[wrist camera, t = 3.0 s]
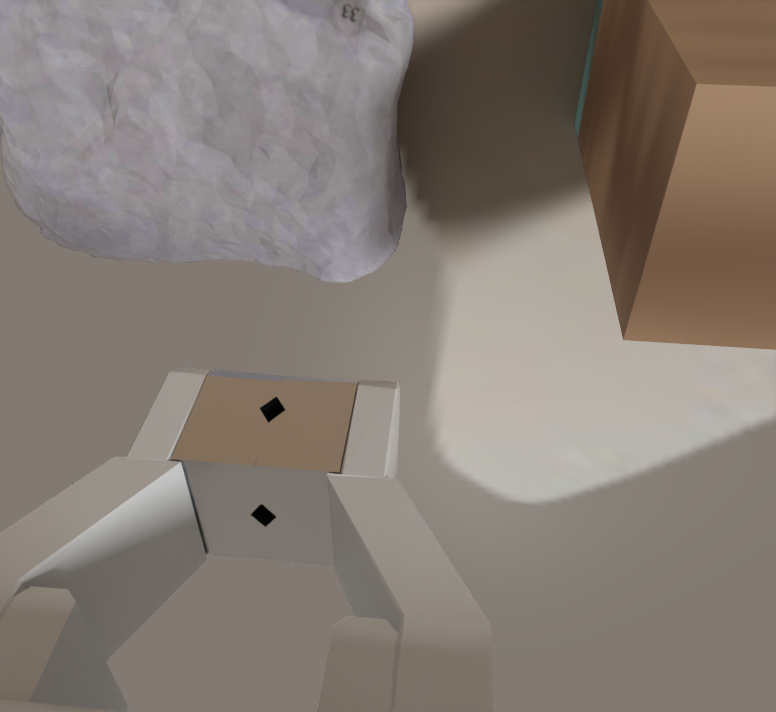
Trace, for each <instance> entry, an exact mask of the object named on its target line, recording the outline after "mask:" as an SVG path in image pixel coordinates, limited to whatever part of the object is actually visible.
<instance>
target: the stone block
mask: <svg viewBox="0 0 776 712" xmlns="http://www.w3.org/2000/svg"><path fill="white" fill-rule="evenodd" d="M413 40H414V19H413V17H412V14H411V12H410V10H409V7H408V1H407V0H0V128H1V155H2V162H3V171H4V174H5V180H6V184H7V187H8V189H9V191H10V193H11V195H12V197H13V199H14V201H15V204H16V206H17V207H18V209H19V210H20V211H21V212H22V213H23V214H24V215H25V217H27V218H28V219H30V220H31V221H32V222H34V223H35V224H36V225H38V226H39V227H40V228H41V233H42V234H43V236H44V237H45V238H47V239H50V240H53V241H54V242H56V243H57V244H58V245H59V246H62V247H66V248H70V249H72V250H77V251H82V252H85V253H88V254H90V255H91V256H93V257H101V258H111V259H119V260H141V261H147V262H200V261H212V260H233V261H251V262H256V263H259V264H263V265H267V266H272V267H290V268H292V269H294V270H297V271H299V272H302V273H304V274H307V275H309V276H311V277H314V278H316V279H318V280H321V281H326V282H351V281H353V280H355V279H357V278H359V277H362V276H365V275H368V274H370V273H372V272H375V271H376V270H377V269H378V268H379V267H381V266H382V265H383V263H385V262H386V261H387V259H388V258H389V257H390V256H391V255H392V254H393V253H394V252H395V251H396V248H397V246H398V244H399V239H400V235H401V231H402V225H403V219H404V214H405V211H406V207H407V205H406V192H405V183H404V180H403V176H402V166H401V162H400V158H399V155H398V137H397V104H398V99H399V97H400V94H401V90H402V85H403V80H404V78H405V75H406V70H407V68H408V65H409V61H410V56H411V52H412V47H413Z"/></svg>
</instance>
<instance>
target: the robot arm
mask: <svg viewBox="0 0 776 712" xmlns="http://www.w3.org/2000/svg"><path fill="white" fill-rule="evenodd" d="M399 397H400V389H399V384H398V383H397V382H386V381H368V380H361V381H359V380H343V379H327V378H311V377H310V378H309V377H294V376H279V375H267V374H257V373H246V372H235V371H225V370H205V369H195V368H185V367H175V368H174V369H173V370H172V371H171V372H169V373H168V374H167V376H166V378H165V380H164V382H163V384H162V386H161V388H160V390H159V392H158V394H157V396H156V398H155V400H154V402H153V404H152V406H151V408H150V410H149V412H148V414H147V416H146V418H145V420H144V422H143V424H142V426H141V428H140V430H139V432H138V434H137V436H136V438H135V440H134V442H133V444H132V446H131V447H130V449H129V452H128V454H127V455H126V457H113V458H111V459H110V460H108V461H107V462H106V463H104V464H102V465H101V466H99V467H98V468H96V469H95V470H94V471H92V472H90V473H89V474H87V475H86V476H84V477H83V478H82V479H80V480H78V481H77V482H76V483H74V484H72V485H71V486H69V487H68V488H66V489H65V490H63V491H62V492H60V493H59V494H57V495H56V496H54V497H53V498H51V499H50V500H48V501H47V502H45V503H44V504H42V505H41V506H39V507H38V508H37V509H35V510H34V511H32V512H31V513H29V514H28V515H26V516H25V517H23V518H22V519H20V520H19V521H17V522H16V523H14V524H13V525H11V526H10V527H8V528H7V529H5V530H4V531H2V532H1V533H0V712H127V709H128V704H127V702H126V700H125V698H124V696H123V694H122V692H121V690H120V688H119V686H118V684H117V682H116V680H115V678H114V676H113V674H112V672H111V670H110V668H109V666H108V664H107V662H106V661H107V660H108V659H109V658H110V657H111V656H112V655H113V654H114V653H115V652H116V651H117V650H118V649H119V648H120V646H122V645H123V643H125V642H126V641H127V640H128V639H129V637H130V636H132V635H133V634H134V632H135V631H136V630H137V629H138V628H139V627H140V626H141V625H142V624H143V623H144V622H145V621H146V620H147V619H148V618H149V617H150V616H151V615H152V614H153V613H154V612H155V611H156V610H157V609H158V608H159V607H160V606H161V605H162V604H163V603H164V602H165V601H166V600H167V599H168V598H169V597H170V596H171V595H172V594H173V593H174V592H175V591H176V590H177V589H178V588H179V587H180V586H181V585H182V584H183V583H184V582H185V581H186V580H187V579H188V577H190V576H191V575H192V574H193V573H194V572H195V571H196V569H198V567H199V566H200V565H201V564H202V563H203V562H204V561H205V560H206V559H207V556H206V555H216V556H233V557H248V558H264V559H276V560H285V561H294V562H302V563H310V564H319V565H328V566H334V568H335V572H336V574H337V576H338V578H339V581H340V583H341V586H342V588H343V590H344V592H345V595H346V597H347V600H348V602H349V604H350V607H351V609H352V611H353V614H354V616H346V617H344V618H343V619H342V620H341V621H339V622H338V623H337V624H335V625H334V626H333V631H332V636H331V642H330V647H329V652H328V658H327V663H326V668H325V674H324V680H323V685H322V690H321V696H320V701H319V706H318V712H493V710H492V629H491V628H492V627H491V625H490V624H489V622H488V620H487V619H486V617H485V616H484V614H483V612H482V611H481V609H480V608H479V606H478V605H477V603H476V602H475V600H474V598H473V597H472V595H471V594H470V592H469V590H468V589H467V587H466V586H465V584H464V582H463V581H462V579H461V578H460V576H459V575H458V573H457V571H456V570H455V568H454V567H453V565H452V564H451V562H450V560H449V559H448V557H447V556H446V554H445V552H444V551H443V549H442V548H441V546H440V545H439V543H438V541H437V540H436V538H435V537H434V535H433V533H432V532H431V530H430V529H429V527H428V526H427V524H426V522H425V521H424V519H423V518H422V516H421V515H420V513H419V511H418V510H417V508H416V507H415V505H414V504H413V502H412V500H411V499H410V497H409V496H408V494H407V492H406V491H405V489H404V488H403V486H402V484H401V483H400V481H399V480H398V479H397V461H398V437H399Z"/></svg>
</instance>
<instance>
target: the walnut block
mask: <svg viewBox="0 0 776 712" xmlns="http://www.w3.org/2000/svg"><path fill="white" fill-rule="evenodd" d="M575 129H576V133H577V137H578V142H579V146H580V151H581V155H582V159H583V164H584V168H585V173H586V177H587V182H588V186H589V190H590V195H591V199H592V204H593V208H594V212H595V217H596V221H597V226H598V230H599V235H600V239H601V243H602V248H603V252H604V257H605V261H606V265H607V270H608V274H609V279H610V283H611V288H612V292H613V296H614V301H615V305H616V310H617V314H618V318H619V323H620V327H621V332H622V336H623V340H632V341H648V342H664V343H680V344H696V345H712V346H727V347H743V348H759V349H775V350H776V0H597V2H596V8H595V13H594V19H593V24H592V30H591V35H590V41H589V46H588V52H587V57H586V63H585V69H584V74H583V80H582V85H581V91H580V96H579V102H578V107H577V113H576V118H575Z"/></svg>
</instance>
